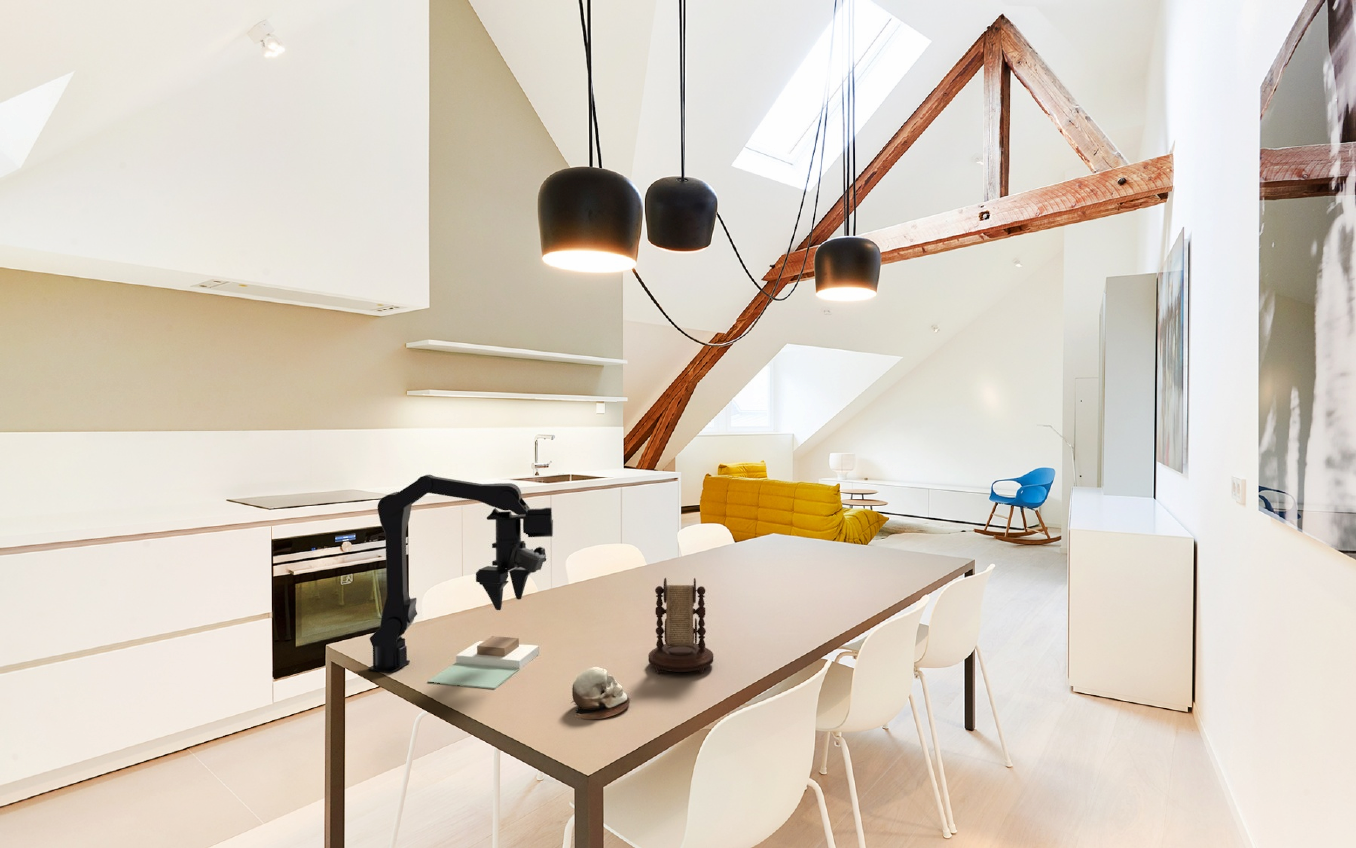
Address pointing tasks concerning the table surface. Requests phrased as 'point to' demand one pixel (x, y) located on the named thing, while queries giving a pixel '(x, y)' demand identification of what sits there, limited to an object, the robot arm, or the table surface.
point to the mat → (474, 675)
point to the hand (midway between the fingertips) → (508, 604)
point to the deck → (511, 660)
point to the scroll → (680, 630)
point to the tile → (498, 646)
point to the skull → (598, 695)
